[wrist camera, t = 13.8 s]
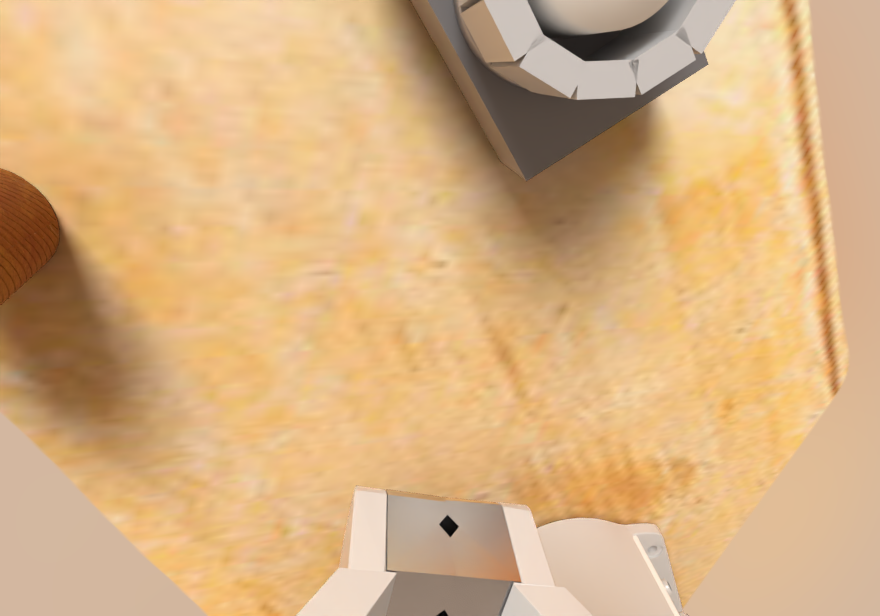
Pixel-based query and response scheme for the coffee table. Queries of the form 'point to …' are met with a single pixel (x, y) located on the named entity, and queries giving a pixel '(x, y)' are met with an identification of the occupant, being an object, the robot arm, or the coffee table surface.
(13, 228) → the disposable coffee cup
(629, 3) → the white egg
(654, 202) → the coffee table surface
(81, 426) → the coffee table surface
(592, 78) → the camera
